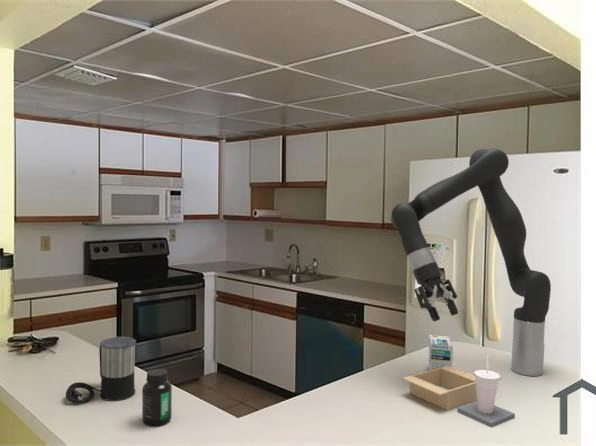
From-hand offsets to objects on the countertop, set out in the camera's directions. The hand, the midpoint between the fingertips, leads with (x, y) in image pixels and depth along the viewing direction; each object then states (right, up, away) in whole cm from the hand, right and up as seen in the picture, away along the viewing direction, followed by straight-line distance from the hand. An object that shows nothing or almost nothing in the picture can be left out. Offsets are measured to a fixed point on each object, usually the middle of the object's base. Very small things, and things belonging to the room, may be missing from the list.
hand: (446, 317), depth 142 cm
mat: (+6, -22, -15) cm, 27 cm away
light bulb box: (+2, -21, +15) cm, 26 cm away
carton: (-2, -21, -4) cm, 22 cm away
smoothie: (+6, -21, -15) cm, 27 cm away
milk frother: (-96, -20, -10) cm, 98 cm away
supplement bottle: (-77, -21, -23) cm, 83 cm away
